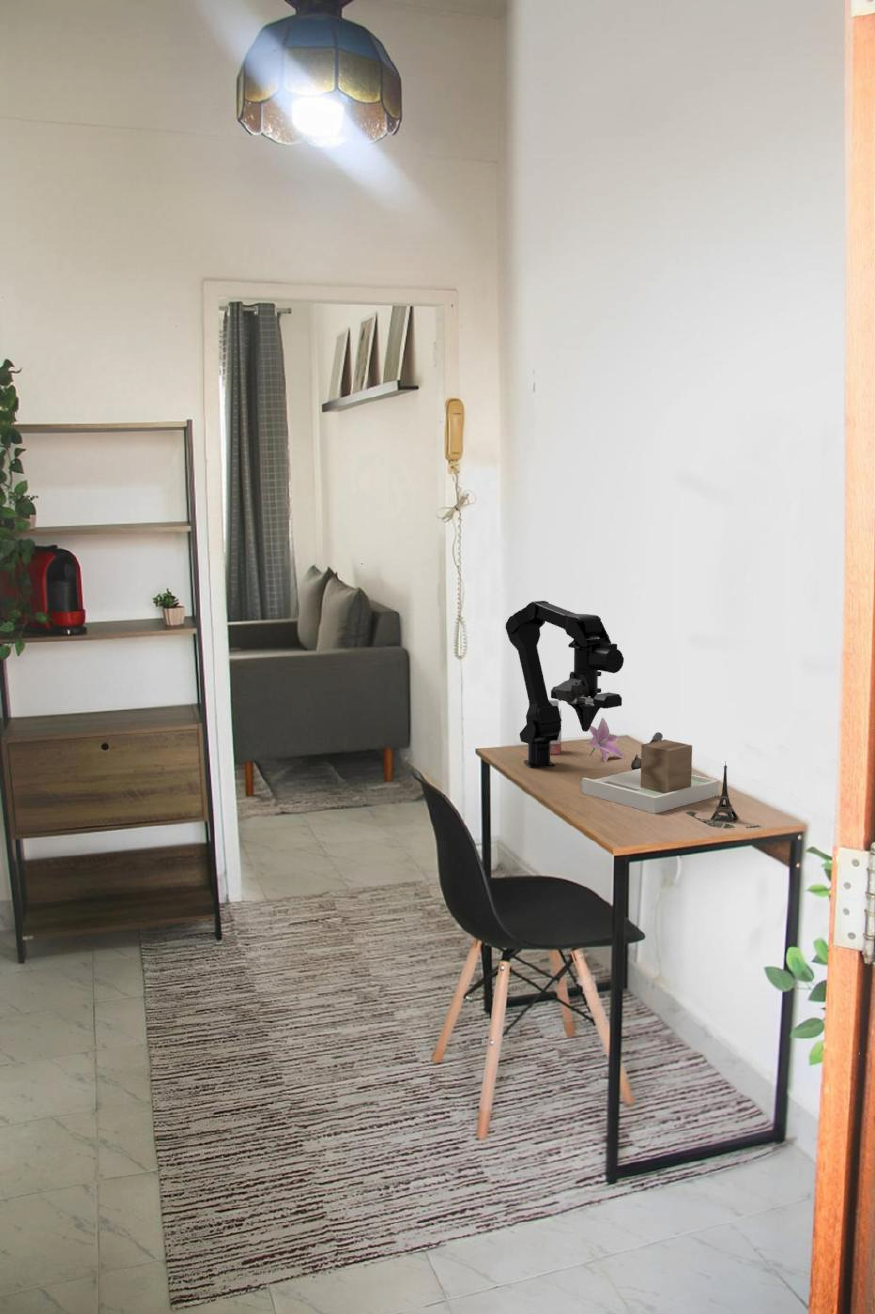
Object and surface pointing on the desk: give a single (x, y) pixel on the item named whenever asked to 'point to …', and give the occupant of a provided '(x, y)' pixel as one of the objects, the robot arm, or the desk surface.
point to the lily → (604, 740)
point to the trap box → (648, 791)
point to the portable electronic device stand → (637, 761)
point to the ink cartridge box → (556, 745)
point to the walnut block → (666, 766)
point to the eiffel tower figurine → (722, 810)
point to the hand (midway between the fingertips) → (585, 731)
